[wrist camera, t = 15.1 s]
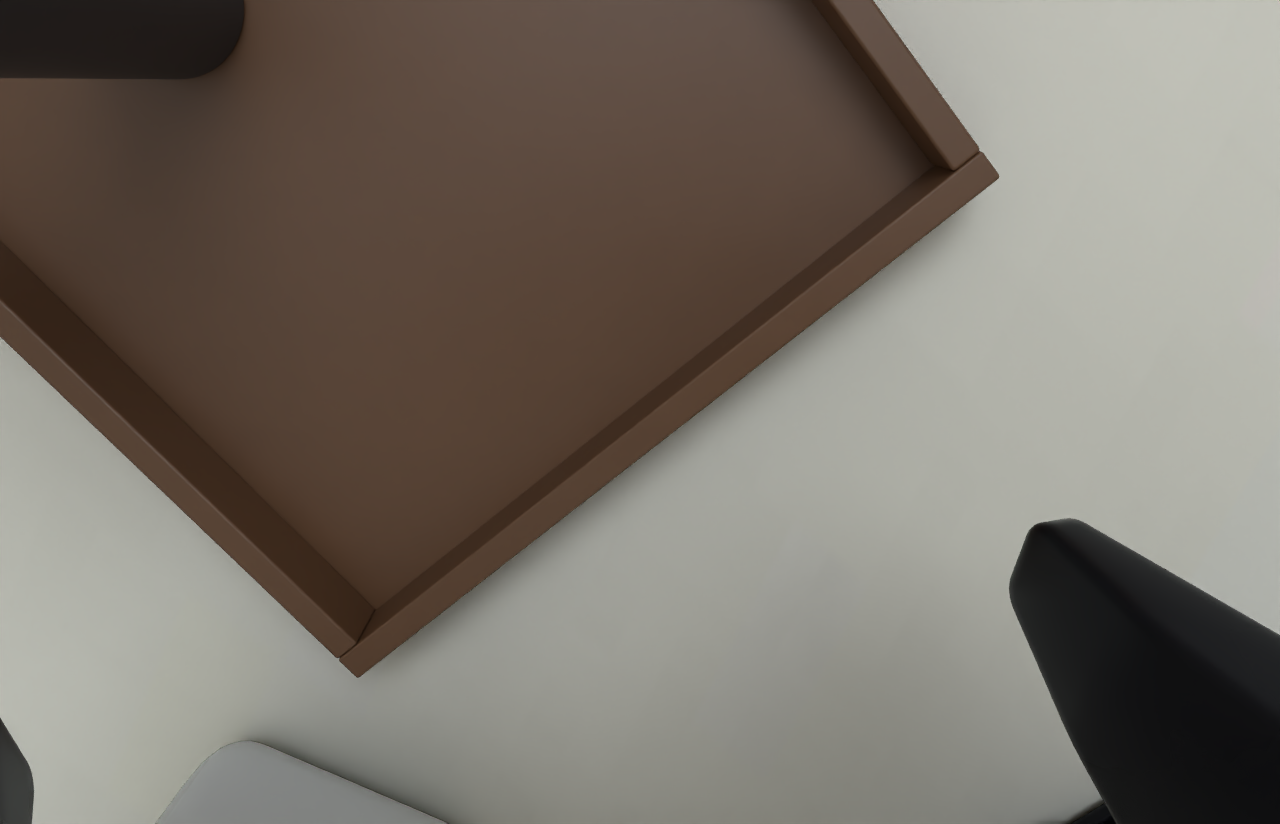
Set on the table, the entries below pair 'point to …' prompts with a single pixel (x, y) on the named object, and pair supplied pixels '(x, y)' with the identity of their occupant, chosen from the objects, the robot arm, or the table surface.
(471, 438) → the tray
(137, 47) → the disc
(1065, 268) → the table surface
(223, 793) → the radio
